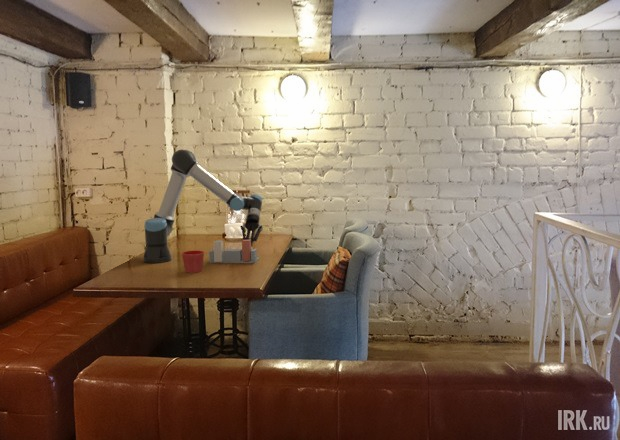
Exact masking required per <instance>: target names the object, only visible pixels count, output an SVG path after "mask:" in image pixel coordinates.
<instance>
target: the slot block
mask: <svg viewBox="0 0 620 440" xmlns="http://www.w3.org/2000/svg"><path fill="white" fill-rule="evenodd" d="M223 254H224V261H222V262H214V248H211V249H210V250H209V251H208V255H209V257H208V259H209V261H208V262H209V264H255V263H257V262H258V261H259V260H260V257H258V249H257V248H252V249H251V261H242V248H226V249H223Z"/></svg>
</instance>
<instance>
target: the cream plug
mask: <svg viewBox="0 0 620 440" xmlns="http://www.w3.org/2000/svg"><path fill="white" fill-rule="evenodd" d="M212 244H213V249H214V262H222V261H224V240H213V243H212Z"/></svg>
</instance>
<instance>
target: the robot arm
mask: <svg viewBox="0 0 620 440" xmlns="http://www.w3.org/2000/svg"><path fill="white" fill-rule="evenodd" d="M171 164H172V165H171V167H170V170H171V171H170V172H171V175H170V178H169V181H168V183H167V186H166V189H165V192H164V195H163V198H162V202H161V205H160V207H159V210H158V211H156V212H155V213H154V216H153V217H152V218H148V219H146V220H145V221H144V234H145V235H144V237H145V250H144V252H143V257H142V258H143V262H144V263H145V264H146V263H148V264H151V263H153V264H157V263H158V264H159V263H165V262H169V261H171V260H172V254H171V252H170V249H169V246H168V237H169V235H171V234H172V231H173V228H174V227H173V225H174V223H175V220H176V218H175V217H174V214H175V212H176V209H177V205H178V203H179V201H180V197H181V195H182V192H183V188H184V187H185V184H186V181H187V178H189V177H192V178H193V179H194V180H195V181H197V182H198V183H199V184H200V185H202V186H203V187H204V188H205V189H207V190H208V191H209V192H211V193H212V194H213V195H214V196H215V197H217V198H218V199H220V200H221V201H222V202H224V203H225V204H226V205H227V206H228V208H230V209H232V210H233V211H235V212H237V211H238V212H239V211H241V210H246V211H247V213H246V219H245V223H244V225H240V230H241V232H242V239H243V240H251V248H252V247H253V245H254V242H257V241H258V239H259V236H260V234H261V232H262V231H263V228H264V227H263V226H262V225H260V219H261V212H262V211H261V210H262V203H263V198H262V196H261V195H259V194H258V193H257V194H256V193H255V194H254V193H253V194H251V195H250V196H248V197H247V196H243V195H238V194H236V193H235V192H233V190H231V189H230V188H229V187H227V186H226V185H225V184H223V182H221V181H219V179H217V178H216V177H215V176H214V175H212V173H210V172H208V171H207V170H206V169H204V168H203V167H202V165H200V164H199V162H198V161H197V158H196V156H195V154H194V153H193V152H192V151H190V150H188V149H178V150H176V151H175V152H174V153H173V155H171ZM245 229H246V231H247V232H245Z"/></svg>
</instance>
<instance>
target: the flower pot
mask: <svg viewBox="0 0 620 440" xmlns="http://www.w3.org/2000/svg"><path fill="white" fill-rule="evenodd" d="M181 257H182V262H183V266H184V269H185V272H186V273H188V274H190V273H191V274H194V273H195V274H196V273H200V272H202V270H203V266H204V265H203V264H204V257H205V251H203V250H188V251H183V252H181Z"/></svg>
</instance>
